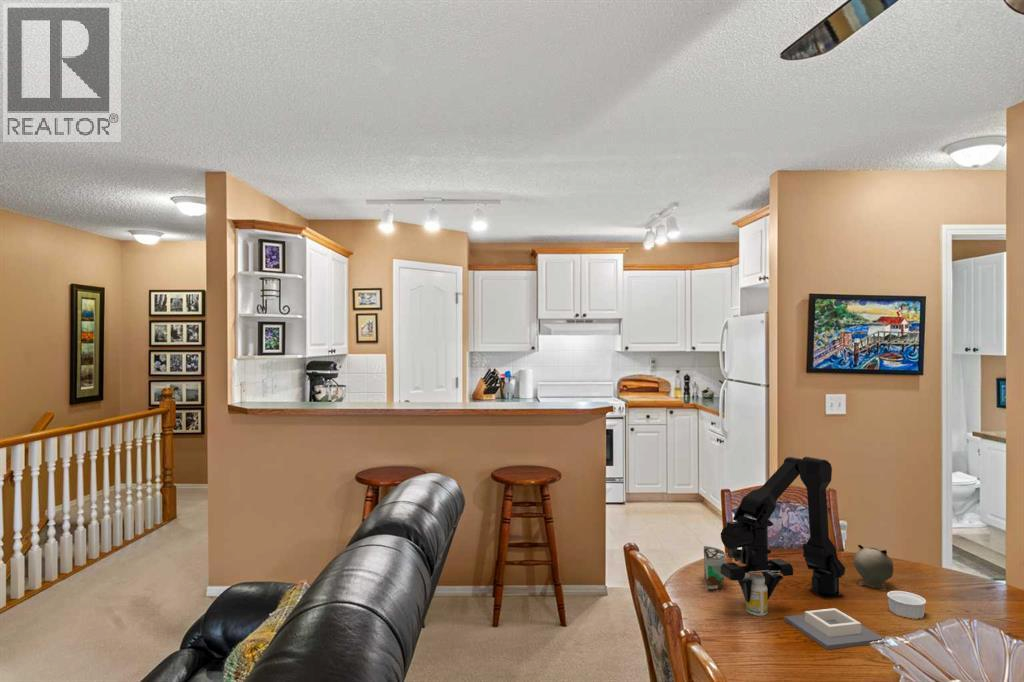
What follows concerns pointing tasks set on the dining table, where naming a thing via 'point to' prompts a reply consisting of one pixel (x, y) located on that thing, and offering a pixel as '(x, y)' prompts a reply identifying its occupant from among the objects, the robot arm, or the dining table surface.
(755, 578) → the supplement bottle
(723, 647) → the dining table surface
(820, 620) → the bottle holder
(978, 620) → the dining table surface
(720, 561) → the food container
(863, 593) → the dining table surface
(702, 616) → the dining table surface
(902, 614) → the ramekin
